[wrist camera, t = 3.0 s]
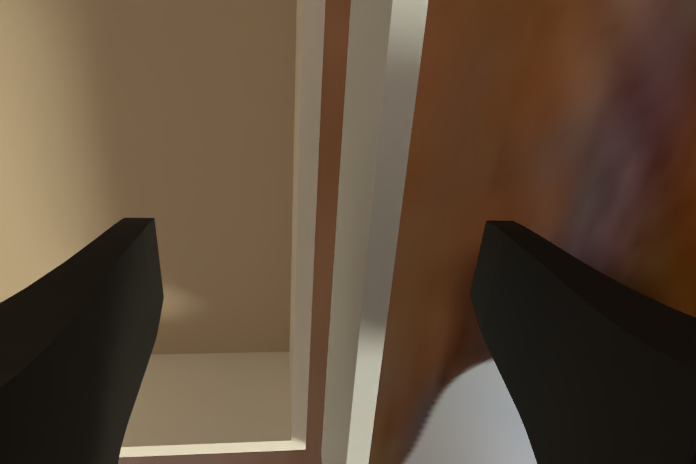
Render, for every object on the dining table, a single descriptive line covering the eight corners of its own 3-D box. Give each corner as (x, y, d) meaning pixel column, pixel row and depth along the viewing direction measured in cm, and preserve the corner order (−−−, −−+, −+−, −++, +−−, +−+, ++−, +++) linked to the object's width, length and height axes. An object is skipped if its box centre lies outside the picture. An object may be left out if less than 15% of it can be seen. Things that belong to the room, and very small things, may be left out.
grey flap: (321, 453, 20) (335, 453, 20) (332, 605, 16) (350, 604, 16) (371, -309, 10) (399, -306, 10) (438, -462, 6) (487, -455, 6)
